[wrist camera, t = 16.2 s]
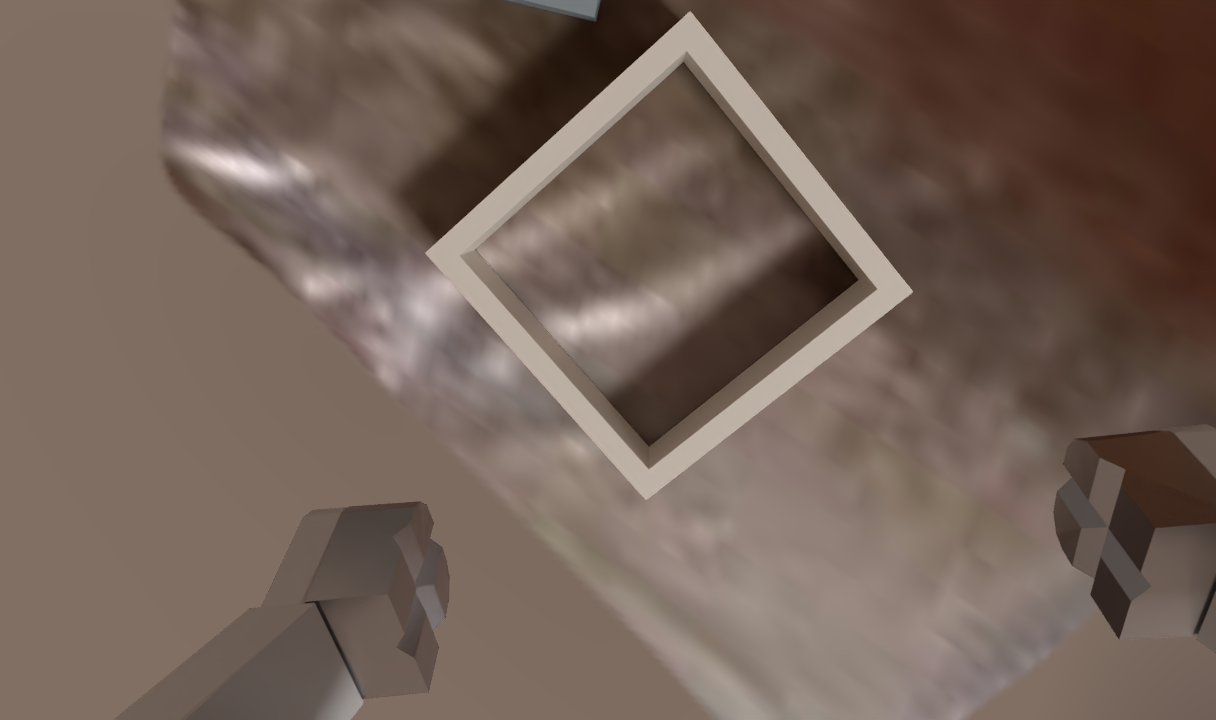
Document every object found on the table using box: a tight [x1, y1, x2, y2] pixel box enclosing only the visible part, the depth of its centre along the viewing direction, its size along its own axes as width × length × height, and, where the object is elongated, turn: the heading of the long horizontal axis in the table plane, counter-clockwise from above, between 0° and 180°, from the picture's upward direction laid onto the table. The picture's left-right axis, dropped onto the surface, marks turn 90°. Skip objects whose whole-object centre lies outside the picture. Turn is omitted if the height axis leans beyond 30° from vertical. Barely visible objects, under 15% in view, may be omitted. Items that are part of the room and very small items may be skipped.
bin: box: [426, 11, 913, 500], centre depth 34 cm, size 14×14×3 cm
